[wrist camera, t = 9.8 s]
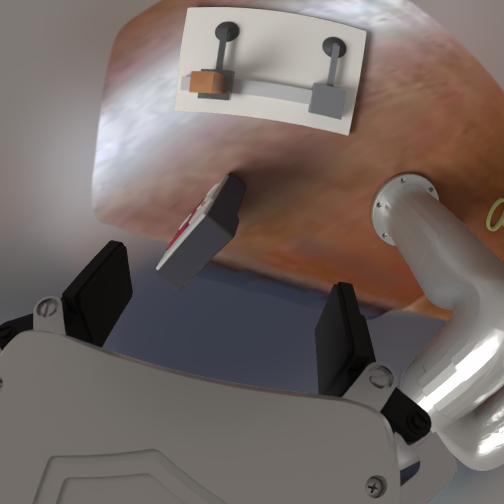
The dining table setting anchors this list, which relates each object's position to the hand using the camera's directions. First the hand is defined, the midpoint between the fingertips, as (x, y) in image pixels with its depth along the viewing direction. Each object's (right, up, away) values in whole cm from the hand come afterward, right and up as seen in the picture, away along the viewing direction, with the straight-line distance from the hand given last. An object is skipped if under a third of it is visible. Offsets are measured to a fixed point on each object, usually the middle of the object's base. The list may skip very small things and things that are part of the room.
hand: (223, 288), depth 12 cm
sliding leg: (-3, +26, +17) cm, 31 cm away
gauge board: (+4, +27, +19) cm, 33 cm away
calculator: (-4, +9, +31) cm, 32 cm away
